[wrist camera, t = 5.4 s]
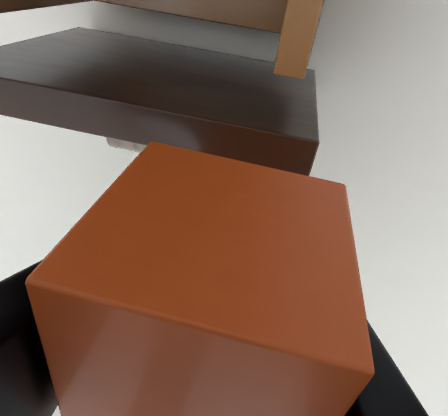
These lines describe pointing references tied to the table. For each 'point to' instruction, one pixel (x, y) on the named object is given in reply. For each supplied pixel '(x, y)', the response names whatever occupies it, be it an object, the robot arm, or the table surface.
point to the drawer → (174, 83)
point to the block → (205, 294)
